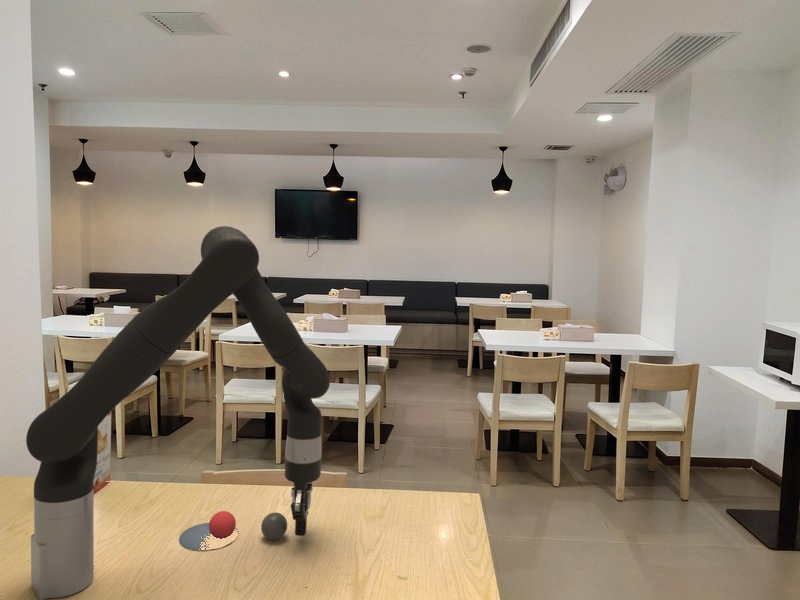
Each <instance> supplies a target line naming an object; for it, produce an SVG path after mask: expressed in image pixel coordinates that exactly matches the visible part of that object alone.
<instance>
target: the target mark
mask: <svg viewBox="0 0 800 600" xmlns="http://www.w3.org/2000/svg"><path fill="white" fill-rule="evenodd" d="M235 529H236V530H238V529H237V528H236V527H235ZM234 531H235V530H234ZM237 532H238V533H239V531H237ZM208 534H209V535H208ZM210 534H211V533H210V530H209V522H204V523H200V524H196V525H193V526H191V527H188V528H186V529H185V530H183V532H182V533H181V534H180V535H179V540H178V541H179V544H180V546H181V547H183V548H185V549H187V550H189V549H192V550H191V551H194V550H199V549H200V550H201V548H202V547H203V546H202V547H201V545H202V544H203V543H202V544H201V542H205V540H206V539H205V540H204V538H206V536H210ZM205 535H206V536H205ZM201 537H202V538H201ZM207 538H208V537H207ZM208 539H209V538H208ZM206 542H207V541H206ZM206 542H205V544H206ZM200 544H201V545H200ZM206 545H207V544H206ZM206 545H204V547H206ZM208 545H209V544H208ZM200 547H201V548H200ZM207 547H208V546H207ZM207 547H206V548H207ZM206 548H205V550H206ZM208 548H209V547H208Z"/></svg>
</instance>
